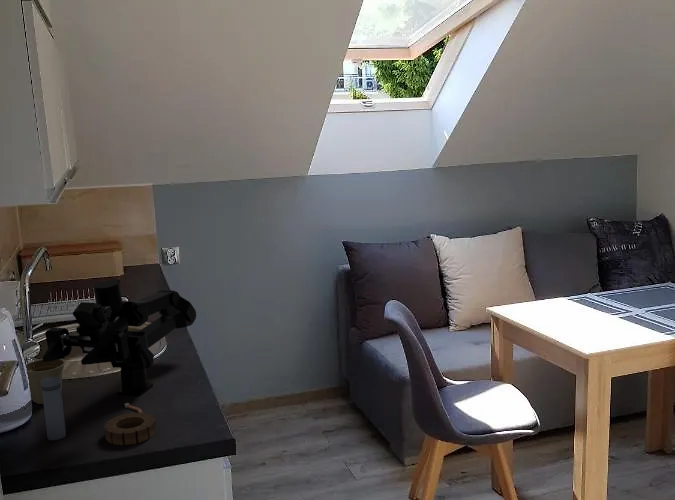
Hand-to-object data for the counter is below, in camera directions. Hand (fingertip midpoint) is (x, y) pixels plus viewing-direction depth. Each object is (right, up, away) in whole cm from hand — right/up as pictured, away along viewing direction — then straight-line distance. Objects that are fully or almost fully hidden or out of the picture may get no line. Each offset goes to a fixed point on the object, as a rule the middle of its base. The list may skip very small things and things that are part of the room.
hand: (62, 361), depth 141 cm
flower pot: (-13, -13, +23) cm, 29 cm away
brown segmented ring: (+13, -16, +3) cm, 21 cm away
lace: (+11, -14, +12) cm, 22 cm away
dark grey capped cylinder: (-2, -16, +3) cm, 17 cm away
